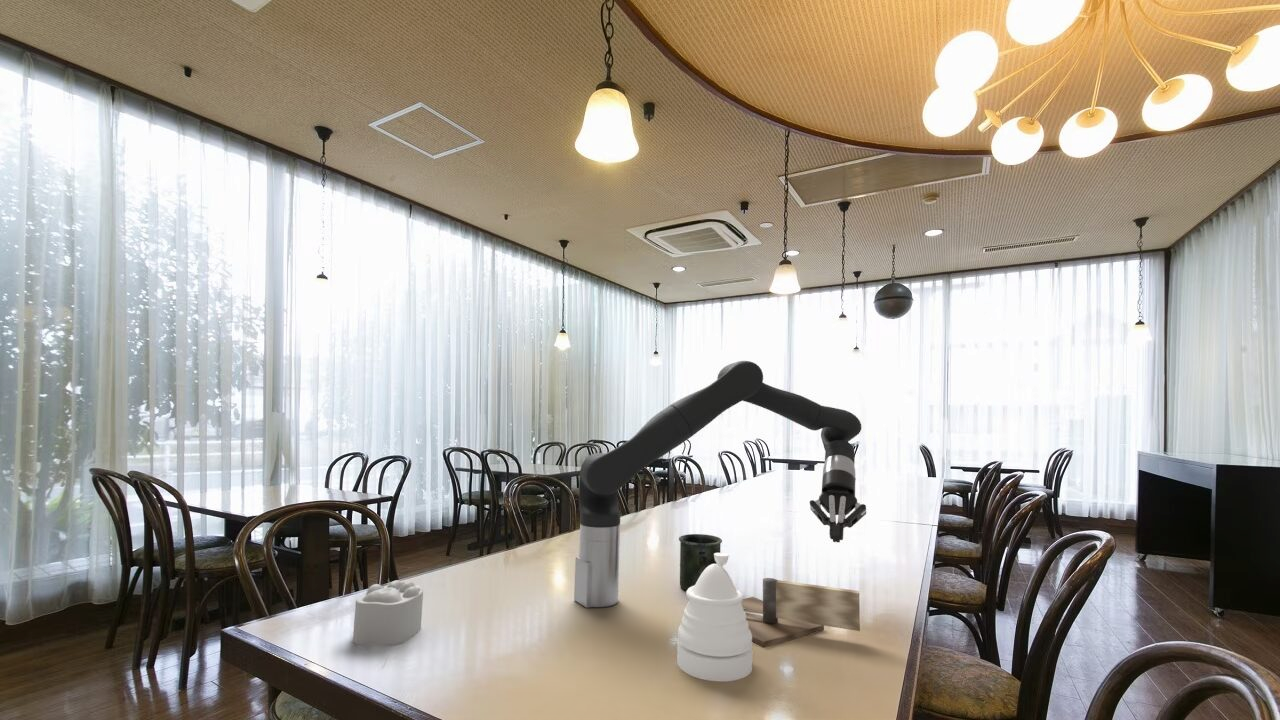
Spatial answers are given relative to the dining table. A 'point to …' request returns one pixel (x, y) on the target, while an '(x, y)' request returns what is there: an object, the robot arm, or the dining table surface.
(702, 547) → the mug
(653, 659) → the dining table surface
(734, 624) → the honey pot
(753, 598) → the wooden sign stand
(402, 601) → the lumpy-topped squat cylinder
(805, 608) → the plank on dark post
